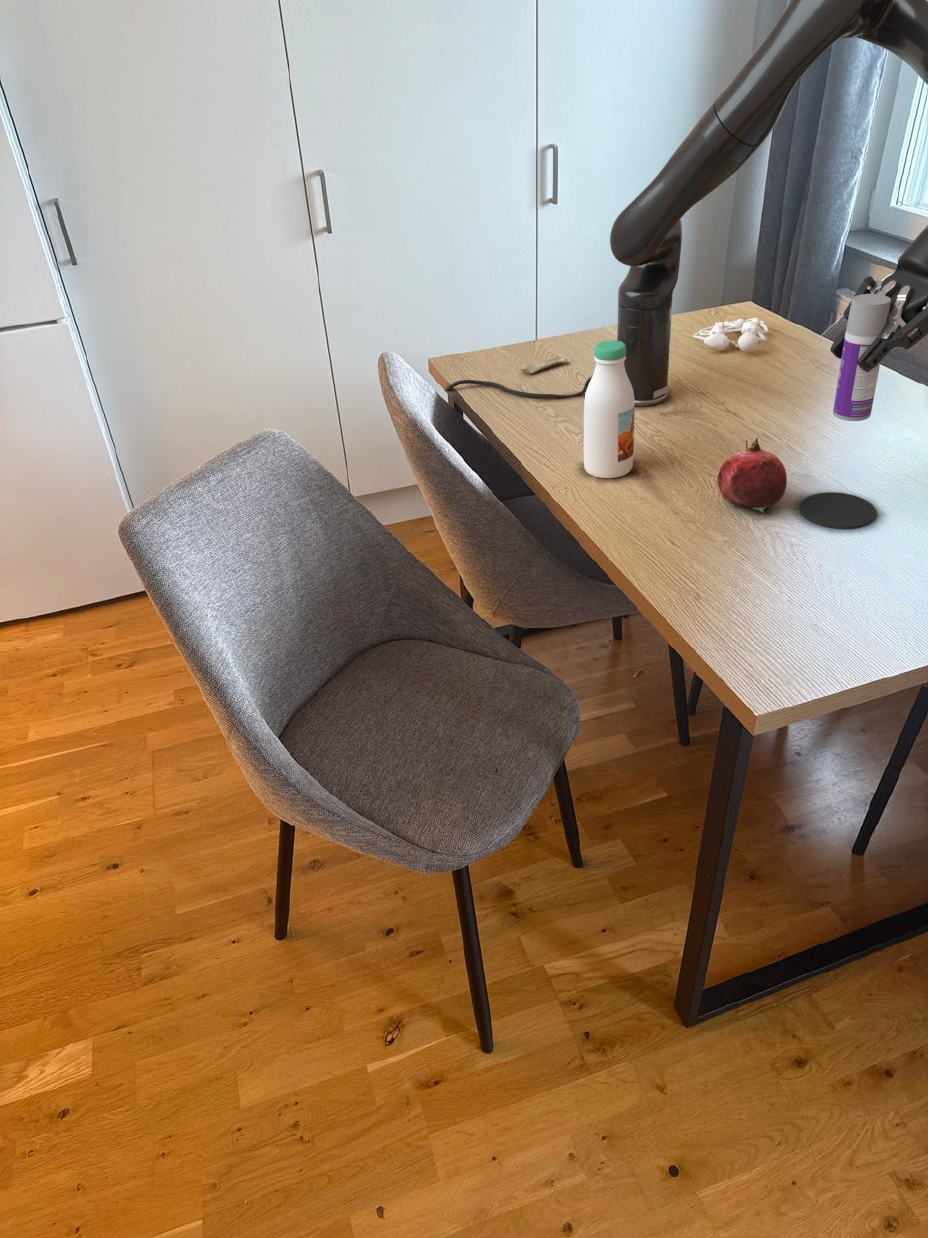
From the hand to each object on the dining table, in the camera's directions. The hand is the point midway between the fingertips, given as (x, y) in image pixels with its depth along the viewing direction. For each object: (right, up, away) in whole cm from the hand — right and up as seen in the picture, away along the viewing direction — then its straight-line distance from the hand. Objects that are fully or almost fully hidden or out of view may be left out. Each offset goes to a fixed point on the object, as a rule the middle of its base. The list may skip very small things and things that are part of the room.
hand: (848, 360), depth 115 cm
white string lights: (+6, +24, +72) cm, 76 cm away
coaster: (+4, -18, +13) cm, 22 cm away
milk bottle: (-26, -9, +29) cm, 40 cm away
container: (+2, -6, +5) cm, 8 cm away
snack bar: (-33, +18, +68) cm, 77 cm away
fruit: (-7, -16, +16) cm, 24 cm away
